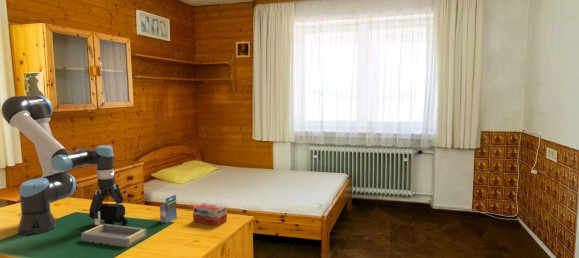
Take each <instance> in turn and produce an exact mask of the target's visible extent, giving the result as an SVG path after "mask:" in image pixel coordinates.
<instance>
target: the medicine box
mask: <svg viewBox="0 0 579 258" xmlns="http://www.w3.org/2000/svg"><path fill="white" fill-rule="evenodd" d="M192 208H193V209H192V218H193V222H194V223H199V224H204V225H210V226H215V227H218V226H219V225H221V224H224V223H226V222H227V221H228V220H227V219H228V212H227V206H226V205H220V204H215V203H213V204H212V203H207V202H206V203H205V202H201V203H199V204H196V205H194V206H193V207H192Z"/></svg>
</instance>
